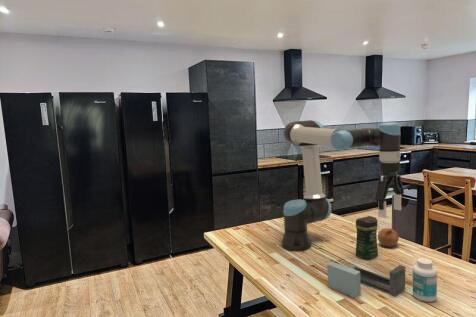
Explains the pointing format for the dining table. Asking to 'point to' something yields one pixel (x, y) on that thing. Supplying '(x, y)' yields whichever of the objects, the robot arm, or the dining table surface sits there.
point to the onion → (388, 237)
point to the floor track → (384, 280)
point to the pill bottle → (424, 280)
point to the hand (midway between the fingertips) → (390, 213)
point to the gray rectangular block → (344, 279)
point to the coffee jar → (366, 237)
